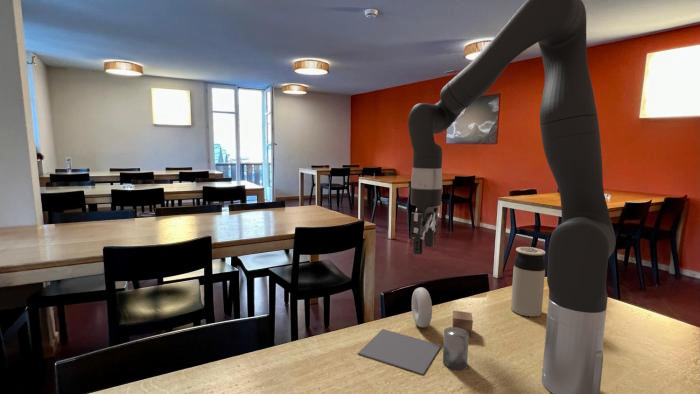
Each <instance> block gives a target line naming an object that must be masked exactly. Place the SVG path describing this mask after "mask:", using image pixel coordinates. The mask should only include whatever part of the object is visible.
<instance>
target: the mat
mask: <svg viewBox="0 0 700 394" xmlns="http://www.w3.org/2000/svg"><path fill="white" fill-rule="evenodd" d="M441 347H442V345H441V344H439V343H435V342H431V341H429V340H428V341H427V340H425V339H421V338H417V337H413V336H410V335H406V334H402V333H398V332H395V331H391V330H388V329H385V328H381V330H380V331H379V332H377V334H376V335H375V336H373V337H372V339H371V340H369V342H367V343H366V344H365V345H364V346H363V347H362V348H361V349H360V351H358V353H357V355H359V356H363V357H366V358H369V359H372V360H375V361H379V362H380V363H384V364H387V365H389V366H394V367H397V368H400V369H403V370H406V371H409V372H411V373H412V372H413V373H416V374H419V375H420V376H424V375H425V373H426V372H427V370H428V368H429V367H430V365H431V363H432V361H433V360H434V359H435V358H436V356H437V353H438V352H439V351H440V349H441Z"/></svg>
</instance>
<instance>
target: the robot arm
mask: <svg viewBox="0 0 700 394" xmlns="http://www.w3.org/2000/svg"><path fill="white" fill-rule="evenodd" d="M586 10H587V9H586V7H585V4H584V2H583V1H582V0H525V1H524V3H522V4H521V6H520V7H519V8H518V9H517V10H516V12H515V13H514V14H513V15H512V17H511V18H510V19H509V20H508V22H507V23H505V25H503V27H502V28H501V29H500V31H499V32H498V33H497V34H496V35H495V36H494V37H493V38H492V40H491V41H490V42H489V43H487V45H486V46H485V47H484V48H483V50H482V51H481V52H480V53H479V54H478V55H477V56H476V57H475V58H474V59H473V60H472V61H471V62H470V63H469V64H468V65H466V66H465V67H464V68H462V70H461V71H459V73H457V74H456V75H455V76H454V77H453V78H451V80H450V81H448V82H447V83H446V84H445V85H444V86H443V87H442V89H441V90H440V93H439V97H440V100H439V101H438V102H436V103H434V104H432V103H428V102H427V103H426V102H419V103H417V104H415V105H413V107H412V108H411V110H410V112H409V115H408V119H407V126H408V133H409V138H410V143H411V148H412V151H413V154H412V172H411V179H410V201H409V202H410V205H412V206H414V207H416V212H411V214H410V230H409V237H410V238H412V239H413V247H412V249H413V250H412V251H413V254H415V255H420V256H421V255H422V254H424V247H427V248H433V247H434V240H435V238H434V237H435V233H436V230H437V229H438V221H439V219H438V216H439V215H438V214H439V213H438V212H439V207H440V206H441V204H442V196H443V195H442V192H443V190H442V189H443V170H442V167H443V165H442V164H443V148H442V146H441V145H440V144H438V143H436V141H435V135H436V134H441V133H443V132H445V131H446V130H447V129H448V128H450V126H452V125H453V123H454V122H455V121H456V120H457V119H458V118H459V116H460V115H461V114H462V112H463V111H464V110H465V109H467V108H468V107H470V105H472V104H473V103H475V102H476V101H477V100H479V98H481V97H483V96H484V95H485V94H486V93H487V92H488V91H489V90H490V89H491V88H492V86H493V85H494V84H495V83H496V81H497V80H498V78H499V77H500V76H501V74H502V73H503V72H504V70H505V69H506V68H507V67H508V65H509V64H511V63H512V62H513V60H515V59H516V58H517V57H518V56H520V55H521V54H522V53H524V52H525V51H526V50H527V49H529V48H531V47H532V46H534V45H535V44H538V45H539V46H538V47H539V49H540V55H541V57H542V58H541V59H542V64H543V69H544V84H543V92H542V95H541V96H542V97H541V102H540V107H539V108H540V109H539V126H540V133H541V141H542V148H543V151H544V155H545V158H546V162H547V164H548V167H549V169H550V171H551V174H552V176H553V178H554V181H555V183H556V186H557V188H558V192H559V198H560V208H561V209H560V210H561V223H560V224H558V225H557V226H556V227H555V228H554V230H553V231H552V233H551V236H550V238H549V243H548V249H547V250H548V251H547V252H548V253H547V267H546V268H547V271H546V273H547V274H546V281H547V282H546V283H547V288H548V303H547V316H546V327H545V336H544V340H545V341H544V348H543V349H544V350H543V351H544V352H543V360H542V371H541V383H542V385H543V387H545V389H547V390H548V392H551V394H601V385H602V377H603V376H602V375H603V364H604V350H603V346H604V335H605V325H606V316H607V308H608V307H607V306H608V299H609V298H608V297H609V296H608V292H607V288H606V287H607V278H608V276H607V274H608V266H609V258H610V257H611V256H612V255H613V253H614V251H615V249H616V243H617V242H616V241H617V238H616V234H615V230H614V226H613V223H612V220H611V215H610V213H609V208H608V203H607V200H606V195H605V191H604V179H603V178H604V177H603V175H604V174H603V158H602V157H603V156H602V145H601V143H602V142H601V133H600V131H601V130H600V124H599V117H598V110H597V107H596V105H597V104H596V100H595V94H594V89H593V84H592V80H591V79H592V78H591V76H590V71H589V66H588V54H587V52H588V51H587V47H588V46H587V12H586Z"/></svg>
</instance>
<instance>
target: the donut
mask: <svg viewBox="0 0 700 394" xmlns="http://www.w3.org/2000/svg"><path fill="white" fill-rule="evenodd" d="M432 303H433V302H432V299H431V295H430V293H429V291H428V290H427V289H426V288H425V287H417V288H415V289H414V291H413V292H412V296H411V312H412V317H413V321H414V323H415V324H416V325H417V326H418V327H419V328H427V327H429V325H430V324H431V321H432V316H433V305H432Z"/></svg>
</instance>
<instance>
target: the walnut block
mask: <svg viewBox="0 0 700 394" xmlns="http://www.w3.org/2000/svg"><path fill="white" fill-rule="evenodd" d="M473 323H474V320H473V314H472V312H469V311H460V310H459V311H458V310H452V325H451V327H457V328H461V329H464V330H466V331H467V332H468V333H469V339H470V338H471V339H472V338H473V337H472V336H473V334H472V333H473Z"/></svg>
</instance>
